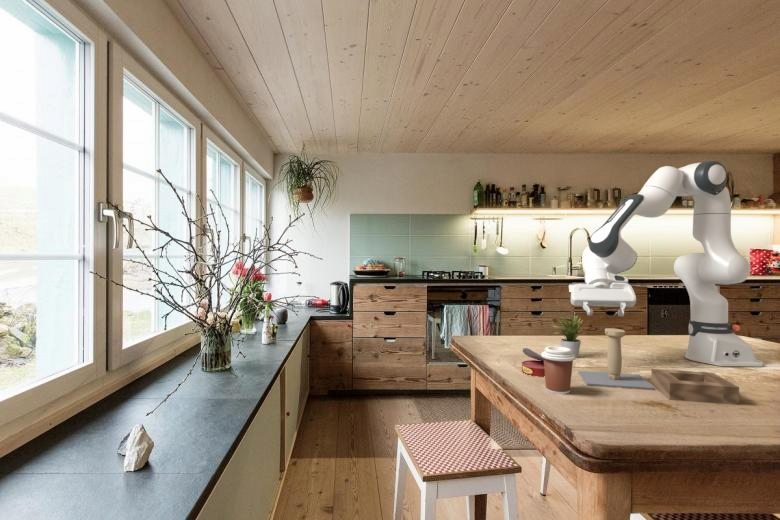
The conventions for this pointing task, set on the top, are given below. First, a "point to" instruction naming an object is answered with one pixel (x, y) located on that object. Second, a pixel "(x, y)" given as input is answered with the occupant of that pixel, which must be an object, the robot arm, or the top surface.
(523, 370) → the canned food
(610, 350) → the handle
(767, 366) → the top surface
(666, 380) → the tray
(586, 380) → the mat
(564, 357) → the coffee cup
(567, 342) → the house plant
